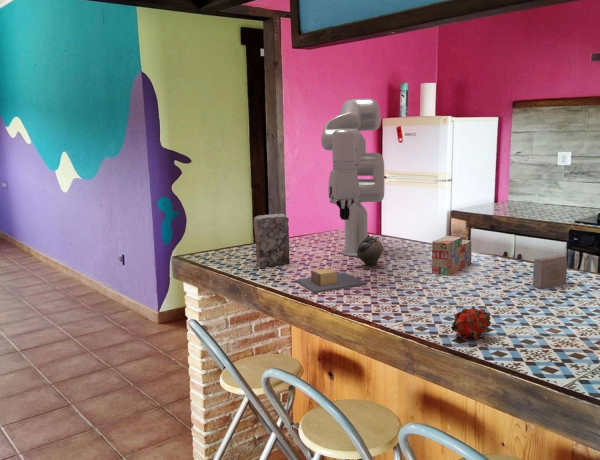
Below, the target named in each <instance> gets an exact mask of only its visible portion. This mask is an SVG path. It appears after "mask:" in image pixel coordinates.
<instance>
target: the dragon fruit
mask: <svg viewBox="0 0 600 460" xmlns="http://www.w3.org/2000/svg"><path fill="white" fill-rule="evenodd" d="M490 320H491V315H490V313H488V312H486V309H485V308H484V309H483V308H480V309H477V308H476V307H475V306H473V305H471V309H469V308H466V307H464V308H463V309H462V310H461V311H460V312H459V311H458V312H457V313H455V315H454V320H453V322H452V325H451V330H452V331H454V332H455V333H456V334H455V335H456V338H457V339H458V338H461V339H467V338H469V337H473V340H475V341H476V340H478V339H479V338H481V337H482V335H483V334H489V333H490V331H491V330H492V328H490V329H489V327H490V326H491V325H492V323H491V321H490Z"/></svg>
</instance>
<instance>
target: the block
mask: <svg viewBox="0 0 600 460" xmlns="http://www.w3.org/2000/svg"><path fill="white" fill-rule="evenodd" d="M337 274H338V272H337V271H336V270H333V269H331V268H330V267H329V268H321V269H313V270H310V278H311V282H313V283H314V284H316V285H318V286H321V285H328V284H334V283H337Z"/></svg>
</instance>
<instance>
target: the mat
mask: <svg viewBox="0 0 600 460" xmlns="http://www.w3.org/2000/svg"><path fill="white" fill-rule="evenodd" d="M294 281H295V283H297V284H299V285H300V286H302V287H303V288H305V289H307V290H308V291H310V292H311V293H313V294H315V293H323V292H329V291H336V290H343V289H348V288H357V287H363V286H368V283H367V282H365V281H363V280H361V279H359V278H357V277H356V276H353V275H351V274H349V273H347V272H342V273H337V283H334V284H328V285H321V286H318V285H316V284H314V283H313V282H311V277H307V278H299V279H295V280H294Z"/></svg>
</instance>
